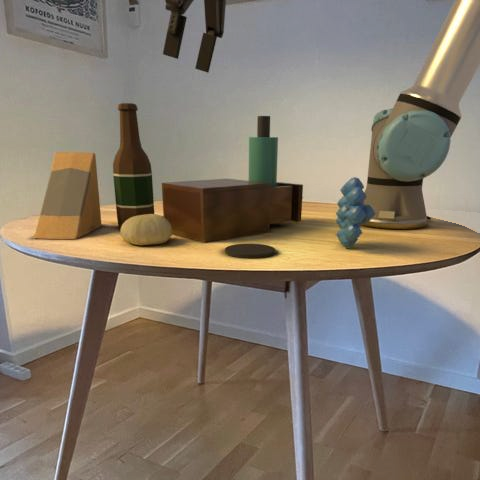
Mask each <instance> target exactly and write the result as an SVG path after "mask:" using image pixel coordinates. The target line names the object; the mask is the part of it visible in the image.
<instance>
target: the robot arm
mask: <svg viewBox="0 0 480 480" xmlns="http://www.w3.org/2000/svg"><path fill="white" fill-rule="evenodd" d="M164 1H165V10H166V11H169V12H170V15H169V20H168V26H167V30H166V36H165V40H164V45H163V49H162V50H163V51H162V55H164V56H167V57H169V58H173V59H175V60H176V59H177V60H179V56H180V51H181V46H182V42H183V38H184V37H183V36H184V32H185V28H186V23H187V18H188V17H187V16H186V15H185V14H186V12H187V11H188V9H189V8H190V6H191V5H192V3H193V2H194V0H164ZM226 3H227V0H203V5H204V23H205V32H203V33H202V37H201V40H200V45H199V50H198V54H197V59H196V63H195V70H198V71H201V72H203V73H204V72H205V73H209V72H210V68H211V64H212V59H213V56H214V51H215V47H216V44H217V40H218V39H217V38H219V39H222V38H223V36H224V33H225V19H226ZM479 67H480V0H454V1H453V3H452V5H451V7H450V9H449V11H448V13H447V15H446V18H445V20H444V22H443V23H442V26H441V28H440V30H439V31H438V34H437V36H436V38H435V40H434V42H433V44H432V46H431V48H430V50H429V53H427V56H426V58H425V60H424V63H423V64H422V67H421V68H420V71H419V73H418V75H417V77H416V80H415V81H414V83H413V85H412V86H411V87H409V88H407V89H405V90H402V91H401V92H400V93H399V95H398V97H397V99H396V101H395V104H394V105H393V108H388V109H383V110H380V111H378V112H376V114H375V115H374V116H373V121H372V124H371V129H370V130H371V139H370V148H369V149H370V150H369V160H368V168H367V170H368V171H367V180H366V186H365V190H364V191H363V192H364V193H365V195H366V196H367V197H366V199H365V200H364V202H363V203H364V204H365V205H370V206H371V207H372V209H373V210H374V212H375V215H374V217H373V218H372V219H371V220H370V221H369V222H366V223H363V224H362V225H361V226H366V227H371V228H377V229H387V230H388V229H390V230H391V229H392V230H411V229H419V228H424V227H425V226H426V225H427V221H431V220H432V217H431V216H428V215H427V209H426V204H425V199H424V193H423V184H424V179H425V178H428V177H429V176H431V175H432V174H434V173H435V172H436V171H437V170H439V168H440V167H442V165H443V163H444V162H445V160H446V159H447V157H448V154H449V151H450V148H451V142H452V141H451V138H452V136H453V134H454V132H455V131H456V129H457V126H458V124H459V123H460V121H461V119H462V117H463V116H462V113H461V109H460V102H461V101H462V99H463V97H464V96H465V93H466V91H467V89H468V87H469V85H470V84H471V82H472V80H473V78H474V76H475V74H476V73H477V71H478V69H479Z"/></svg>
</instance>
